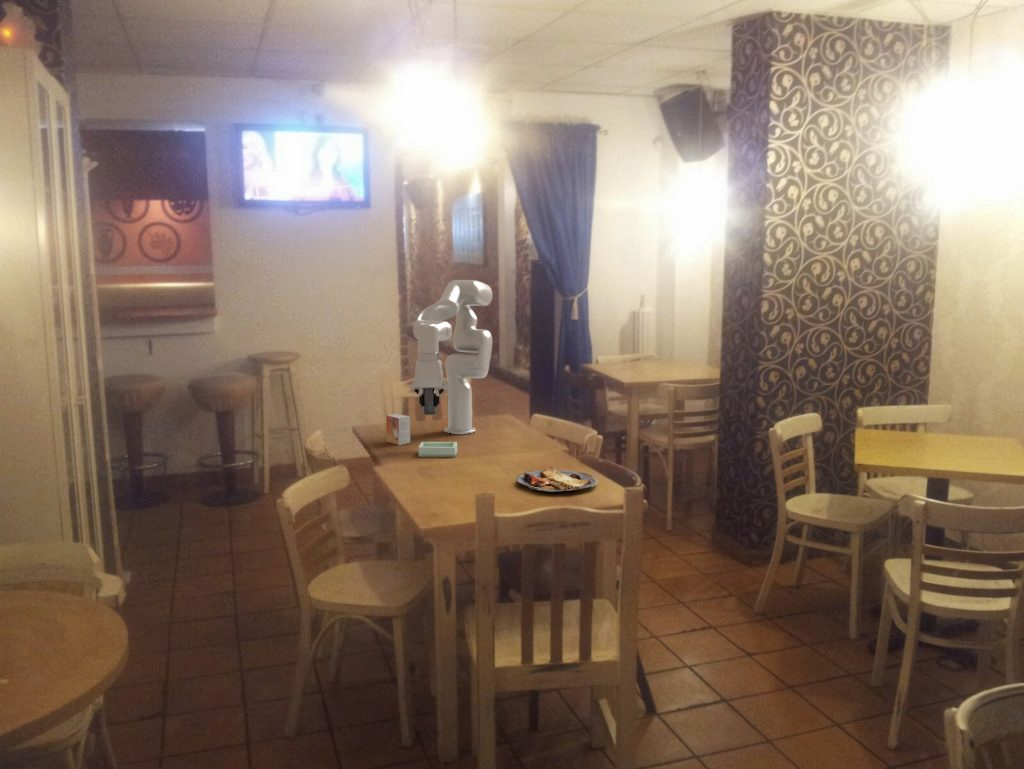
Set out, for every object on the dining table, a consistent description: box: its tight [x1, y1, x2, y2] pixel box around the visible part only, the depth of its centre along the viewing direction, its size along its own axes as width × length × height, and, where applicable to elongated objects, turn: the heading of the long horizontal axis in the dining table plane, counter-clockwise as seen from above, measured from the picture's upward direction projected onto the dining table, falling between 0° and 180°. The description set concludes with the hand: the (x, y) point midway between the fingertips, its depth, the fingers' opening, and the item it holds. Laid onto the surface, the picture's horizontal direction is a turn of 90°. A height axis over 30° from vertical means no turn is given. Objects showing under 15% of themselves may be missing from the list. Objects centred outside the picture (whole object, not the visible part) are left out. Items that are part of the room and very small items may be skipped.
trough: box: [418, 441, 458, 458], centre depth 317 cm, size 9×13×4 cm
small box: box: [385, 413, 411, 446], centre depth 335 cm, size 8×6×10 cm
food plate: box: [515, 466, 598, 493], centre depth 276 cm, size 25×23×4 cm
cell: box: [422, 388, 437, 416], centre depth 324 cm, size 4×4×11 cm
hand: (429, 405), depth 324 cm, fingers closed on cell, 4 cm apart
